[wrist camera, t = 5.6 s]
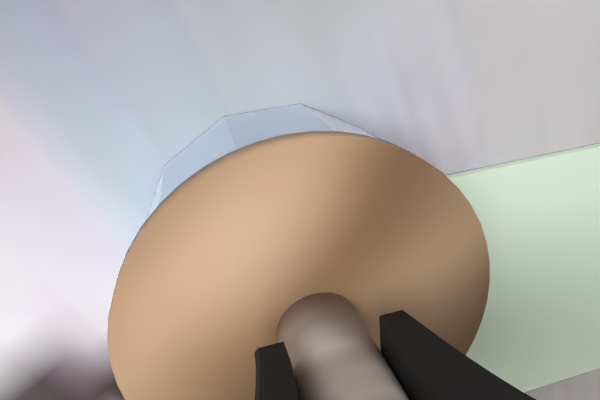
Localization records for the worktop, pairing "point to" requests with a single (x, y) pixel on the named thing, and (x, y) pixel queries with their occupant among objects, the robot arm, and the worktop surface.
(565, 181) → the mat
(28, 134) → the worktop surface
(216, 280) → the lid
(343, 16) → the worktop surface
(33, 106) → the worktop surface
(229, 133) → the bowl
